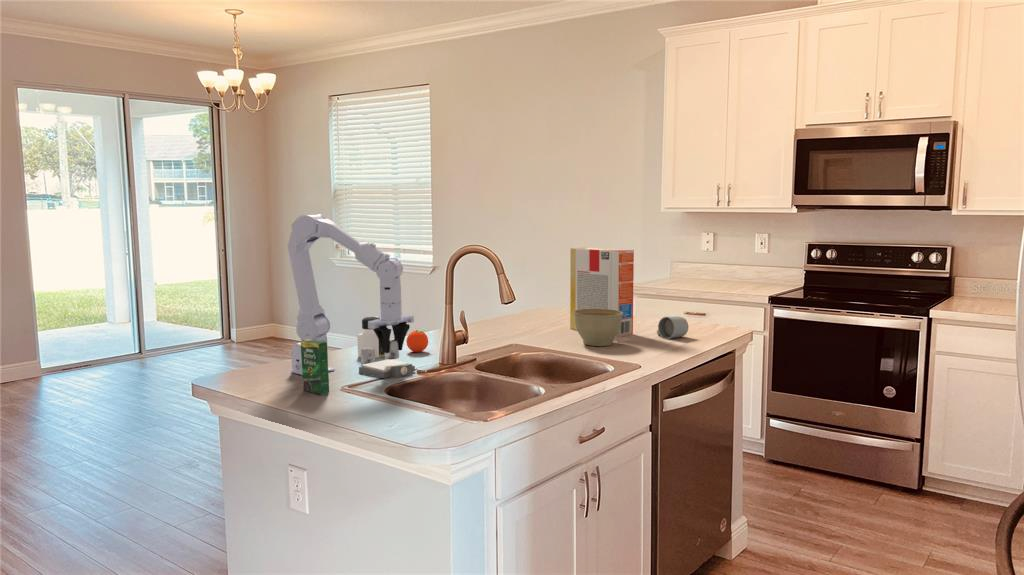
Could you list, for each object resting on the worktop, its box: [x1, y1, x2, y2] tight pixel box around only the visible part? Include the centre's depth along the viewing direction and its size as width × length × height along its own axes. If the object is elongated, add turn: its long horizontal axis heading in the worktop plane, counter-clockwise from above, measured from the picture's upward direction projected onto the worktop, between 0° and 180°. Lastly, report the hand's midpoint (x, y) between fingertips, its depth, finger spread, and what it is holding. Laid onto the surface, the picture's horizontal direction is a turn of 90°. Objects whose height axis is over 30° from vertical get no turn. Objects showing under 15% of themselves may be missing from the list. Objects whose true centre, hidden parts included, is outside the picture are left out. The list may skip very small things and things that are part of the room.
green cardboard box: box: [299, 339, 330, 396], centre depth 187 cm, size 8×3×13 cm, turn 49°
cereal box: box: [569, 247, 635, 338], centre depth 269 cm, size 23×8×30 cm, turn 42°
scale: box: [358, 359, 416, 379], centre depth 208 cm, size 11×13×3 cm
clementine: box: [406, 329, 429, 353], centre depth 236 cm, size 8×7×7 cm
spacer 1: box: [360, 348, 376, 366], centre depth 217 cm, size 4×4×5 cm
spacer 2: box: [384, 338, 400, 360], centre depth 207 cm, size 4×4×5 cm
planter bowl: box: [574, 309, 623, 347], centre depth 247 cm, size 16×16×11 cm
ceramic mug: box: [656, 315, 689, 340], centre depth 259 cm, size 11×8×8 cm
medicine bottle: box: [356, 316, 385, 359], centre depth 231 cm, size 7×7×12 cm
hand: (392, 351), depth 206 cm, fingers closed on spacer 2, 4 cm apart
